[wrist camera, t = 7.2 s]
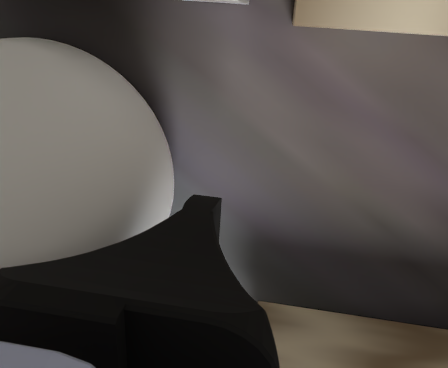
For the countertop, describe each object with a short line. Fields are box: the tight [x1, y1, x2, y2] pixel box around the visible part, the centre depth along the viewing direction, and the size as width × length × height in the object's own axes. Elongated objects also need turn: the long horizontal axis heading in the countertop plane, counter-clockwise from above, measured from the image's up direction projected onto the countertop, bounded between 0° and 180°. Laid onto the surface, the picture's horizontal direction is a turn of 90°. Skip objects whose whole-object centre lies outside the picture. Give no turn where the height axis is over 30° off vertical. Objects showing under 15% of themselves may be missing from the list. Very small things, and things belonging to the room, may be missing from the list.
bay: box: [258, 0, 448, 368], centre depth 13 cm, size 12×15×4 cm
